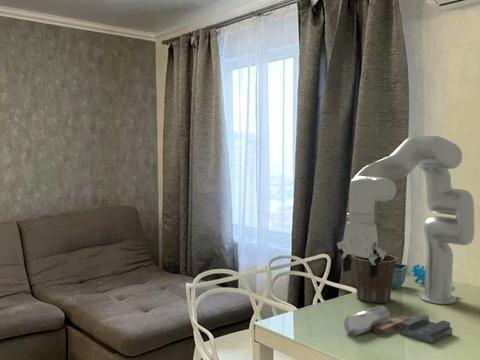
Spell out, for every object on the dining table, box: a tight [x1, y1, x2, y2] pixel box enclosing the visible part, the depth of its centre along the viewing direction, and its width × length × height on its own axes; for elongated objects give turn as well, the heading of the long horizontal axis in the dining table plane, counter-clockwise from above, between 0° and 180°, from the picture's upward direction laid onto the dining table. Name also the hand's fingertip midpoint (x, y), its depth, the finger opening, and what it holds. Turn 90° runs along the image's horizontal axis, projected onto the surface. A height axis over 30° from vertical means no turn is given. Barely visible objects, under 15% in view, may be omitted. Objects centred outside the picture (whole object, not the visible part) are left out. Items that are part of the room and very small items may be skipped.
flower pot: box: [391, 263, 409, 290], centre depth 205 cm, size 9×9×9 cm
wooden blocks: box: [373, 315, 412, 337], centre depth 162 cm, size 16×13×2 cm
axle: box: [343, 305, 391, 337], centre depth 158 cm, size 16×6×6 cm, turn 131°
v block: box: [398, 314, 453, 345], centre depth 154 cm, size 12×11×4 cm
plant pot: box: [352, 252, 398, 304], centre depth 189 cm, size 16×16×16 cm
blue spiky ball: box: [411, 263, 425, 286], centre depth 212 cm, size 11×6×10 cm
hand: (359, 274), depth 154 cm, fingers open, 9 cm apart
